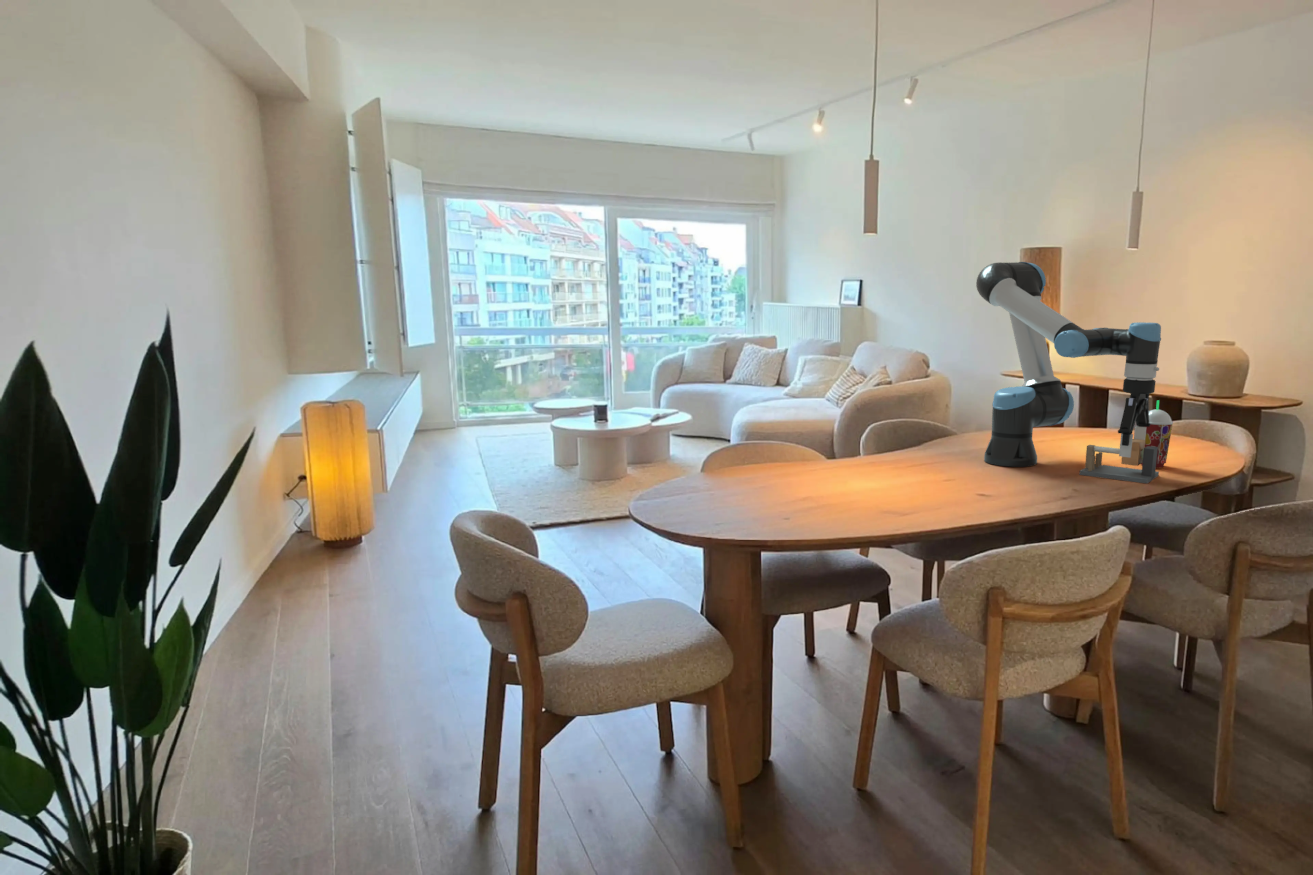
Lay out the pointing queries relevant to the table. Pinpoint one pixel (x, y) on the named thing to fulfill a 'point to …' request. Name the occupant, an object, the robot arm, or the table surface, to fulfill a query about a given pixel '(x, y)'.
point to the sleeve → (1135, 453)
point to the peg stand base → (1120, 473)
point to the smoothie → (1159, 434)
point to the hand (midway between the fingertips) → (1131, 452)
